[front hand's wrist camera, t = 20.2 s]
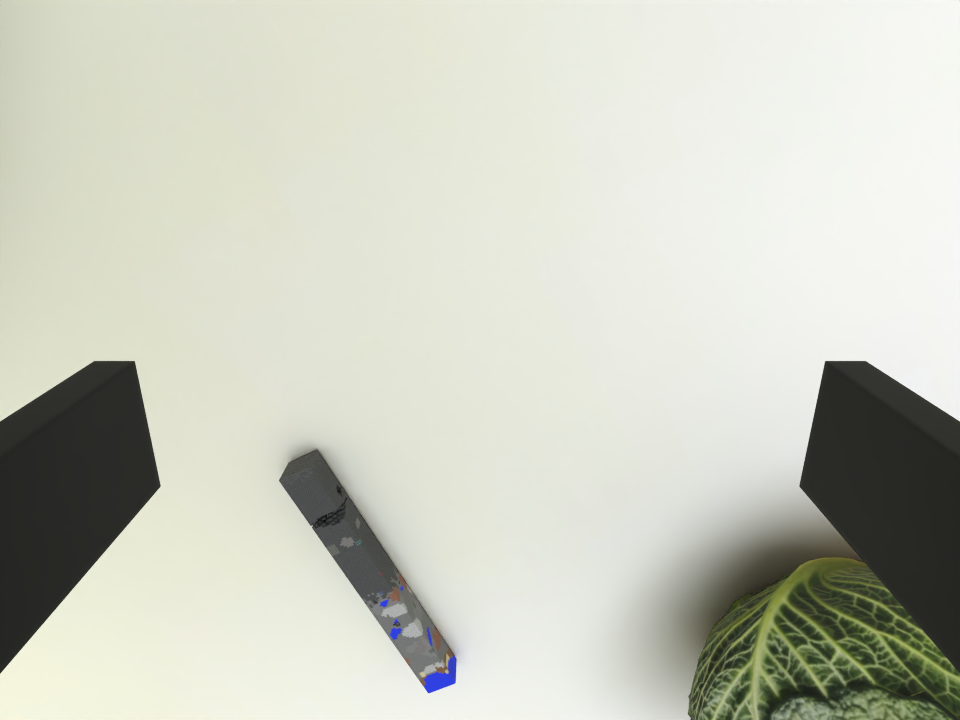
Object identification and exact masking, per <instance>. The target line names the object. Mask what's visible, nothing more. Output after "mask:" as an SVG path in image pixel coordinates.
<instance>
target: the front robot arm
mask: <svg viewBox="0 0 960 720" xmlns="http://www.w3.org/2000/svg"><path fill="white" fill-rule="evenodd" d="M159 488H160V481H159V476H158V471H157V466H156V462H155V457H154V452H153V447H152V442H151V438H150V433H149V428H148V423H147V418H146V413H145V409H144V404H143V399H142V394H141V389H140V384H139V380H138V375H137V370H136V365H135V361H94V362H92V363H91V364H89V365H88V366H86V367H85V368H83V369H81V370H80V371H78V372H77V373H75V374H74V375H72V376H71V377H69V378H67V379H66V380H64V381H63V382H61V383H60V384H58V385H56V386H55V387H53V388H52V389H50V390H49V391H47V392H46V393H44V394H42V395H41V396H39V397H38V398H36V399H35V400H33V401H32V402H30V403H28V404H27V405H25V406H24V407H22V408H21V409H19V410H18V411H16V412H14V413H13V414H11V415H10V416H8V417H7V418H5V419H4V420H2V421H0V673H1V672H2V671H3V670H4V669H5V667H6V666H7V665H8V664H9V663H10V662H11V660H12V659H13V658H14V657H15V656H16V655H17V653H18V652H19V651H20V650H21V649H22V648H23V646H24V645H25V644H26V643H27V642H28V641H29V639H30V638H31V637H32V636H33V635H34V634H35V632H36V631H37V630H38V629H39V628H40V627H41V625H42V624H43V623H44V622H45V621H46V620H47V618H48V617H49V616H50V615H51V614H52V612H53V611H54V610H55V609H56V608H57V607H58V605H59V604H60V603H61V602H62V601H63V600H64V598H65V597H66V596H67V595H68V594H69V593H70V591H71V590H72V589H73V588H74V587H75V586H76V584H77V583H78V582H79V581H80V580H81V579H82V577H83V576H84V575H85V574H86V573H87V572H88V570H89V569H90V568H91V567H92V566H93V565H94V563H95V562H96V561H97V560H98V559H99V558H100V556H101V555H102V554H103V553H104V552H105V551H106V549H107V548H108V547H109V546H110V545H111V544H112V542H113V541H114V540H115V539H116V538H117V537H118V535H119V534H120V533H121V532H122V531H123V530H124V528H125V527H126V526H127V525H128V524H129V523H130V521H131V520H132V519H133V518H134V517H135V516H136V514H137V513H138V512H139V511H140V510H141V509H142V507H143V506H144V505H145V504H146V503H147V502H148V500H149V499H150V498H151V497H152V496H153V495H154V493H155V492H156V491H157V490H158V489H159ZM800 488H801V489H802V490H803V491H804V492H805V493H806V495H807V496H808V497H809V498H810V499H811V500H812V502H813V503H814V504H815V505H816V506H817V507H818V509H819V510H820V511H821V512H822V513H823V514H824V516H825V517H826V518H827V519H828V520H829V521H830V523H831V524H832V525H833V526H834V527H835V528H836V530H837V531H838V532H839V533H840V534H841V535H842V537H843V538H844V539H845V540H846V541H847V542H848V544H849V545H850V546H851V547H852V548H853V549H854V551H855V552H856V553H857V554H858V555H859V556H860V558H861V559H862V560H863V561H864V562H865V563H866V565H867V566H868V567H869V568H870V569H871V570H872V572H873V573H874V574H875V575H876V576H877V577H878V579H879V580H880V581H881V582H882V583H883V584H884V586H885V587H886V588H887V589H888V590H889V591H890V593H891V594H892V595H893V596H894V597H895V598H896V600H897V601H898V602H899V603H900V604H901V605H902V607H903V608H904V609H905V610H906V611H907V613H908V614H909V615H910V616H911V617H912V618H913V620H914V621H915V622H916V623H917V624H918V625H919V627H920V628H921V629H922V630H923V631H924V632H925V634H926V635H927V636H928V637H929V638H930V639H931V641H932V642H933V643H934V644H935V645H936V646H937V648H938V649H939V650H940V651H941V652H942V653H943V655H944V656H945V657H946V658H947V659H948V660H949V662H950V663H951V664H952V665H953V666H954V667H955V669H956V670H957V671H958V672H959V673H960V421H958V420H956V419H955V418H953V417H952V416H950V415H949V414H947V413H946V412H944V411H942V410H941V409H939V408H938V407H936V406H935V405H933V404H932V403H930V402H928V401H927V400H925V399H924V398H922V397H921V396H919V395H918V394H916V393H914V392H913V391H911V390H910V389H908V388H907V387H905V386H904V385H902V384H900V383H899V382H897V381H896V380H894V379H893V378H891V377H889V376H888V375H886V374H885V373H883V372H882V371H880V370H879V369H877V368H875V367H874V366H872V365H871V364H869V363H868V362H866V361H825V365H824V370H823V375H822V380H821V384H820V389H819V394H818V399H817V404H816V409H815V413H814V418H813V423H812V428H811V433H810V438H809V442H808V447H807V452H806V457H805V462H804V466H803V471H802V476H801V481H800Z"/></svg>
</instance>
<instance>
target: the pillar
mask: <svg viewBox="0 0 960 720" xmlns="http://www.w3.org/2000/svg"><path fill="white" fill-rule="evenodd" d="M279 481H280V483H281V484H282V486H283V487H284V488H285V490H286V491H287V493H288V494H289V496H290V497H291V498H292V500H293V501H294V503H295V504H296V505H297V507H298V508H299V510H300V511H301V513H302V514H303V515H304V517H305V518H306V520H307V521H308V523H309V524H310V525H311V526H312V525H313V527H312V528H313V530H314V531H315V533H316V534H317V535H318V537H319V538H320V540H321V541H322V542H323V544H324V545H325V547H326V548H327V550H328V551H329V552H330V554H331V555H332V557H333V558H334V560H335V561H336V562H337V564H338V565H339V567H340V568H341V570H342V571H343V572H344V574H345V575H346V577H347V578H348V580H349V581H350V582H351V584H352V585H353V587H354V588H355V589H356V591H357V592H358V594H359V595H360V597H361V598H362V599H363V601H364V602H365V604H366V605H367V607H368V608H369V609H370V611H371V612H372V614H373V615H374V617H375V618H376V619H377V621H378V622H379V624H380V625H381V627H382V628H383V629H384V631H385V632H386V634H387V635H388V636H389V638H390V639H391V641H392V642H393V644H394V645H395V646H396V648H397V649H398V651H399V652H400V654H401V655H402V656H403V658H404V659H405V661H406V662H407V664H408V665H409V666H410V668H411V669H412V671H413V672H414V673H415V675H416V676H417V678H418V679H419V681H420V682H421V683H422V685H423V686H424V688H425V689H426V691H427V692H428V693H431V692H434V691H436V690H439V689H442V688H444V687H447V686H450V685H452V684H455V682H456V658H455V656H454V655H453V653H452V652H451V650H450V649H449V647H448V646H447V644H446V643H445V641H444V640H443V638H442V636H441V635H440V633H439V632H438V630H437V629H436V627H435V626H434V624H433V623H432V621H431V620H430V618H429V617H428V615H427V614H426V612H425V611H424V609H423V608H422V606H421V605H420V603H419V602H418V600H417V599H416V597H415V596H414V594H413V593H412V591H411V590H410V588H409V587H408V585H407V584H406V582H405V581H404V579H403V578H402V576H401V575H400V573H399V572H398V570H397V569H396V567H395V566H394V564H393V563H392V561H391V560H390V558H389V557H388V555H387V554H386V552H385V551H384V549H383V548H382V546H381V545H380V543H379V542H378V540H377V539H376V537H375V536H374V534H373V533H372V531H371V530H370V528H369V527H368V525H367V524H366V522H365V521H364V519H363V518H362V516H361V515H360V513H359V512H358V510H357V509H356V507H355V506H354V504H353V503H352V501H351V500H350V498H349V496H348V495H347V493H346V492H345V490H344V489H343V487H342V486H341V484H340V483H339V481H338V480H337V478H336V477H335V475H334V474H333V472H332V471H331V469H330V468H329V466H328V465H327V463H326V462H325V460H324V459H323V457H322V456H321V454H320V453H319V451H318V450H316V451H313V452H311V453H309V454H307V455H305V456H302V457H300V458H298V459H296V460H294V461H292V462H289V463H288V465H287V467H286V469H285V471H284V472H283V474H282V476H281V478H280V480H279ZM327 514H328V516H327Z"/></svg>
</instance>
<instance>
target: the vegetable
mask: <svg viewBox="0 0 960 720" xmlns="http://www.w3.org/2000/svg"><path fill="white" fill-rule="evenodd" d="M688 697H689V710H688V715H689V716H690V717H691V720H960V673H959V672H958V671H957V670H956V669H955V667H954V666H953V665H952V664H951V663H950V662H949V660H948V659H947V658H946V657H945V656H944V655H943V653H942V652H941V651H940V650H939V649H938V648H937V646H936V645H935V644H934V643H933V642H932V641H931V639H930V638H929V637H928V636H927V635H926V634H925V632H924V631H923V630H922V629H921V628H920V627H919V625H918V624H917V623H916V622H915V621H914V620H913V618H912V617H911V616H910V615H909V614H908V613H907V611H906V610H905V609H904V608H903V607H902V605H901V604H900V603H899V602H898V601H897V600H896V598H895V597H894V596H893V595H892V594H891V593H890V591H889V590H888V589H887V588H886V587H885V586H884V584H883V583H882V582H881V581H880V580H879V579H878V577H877V576H876V575H875V574H874V573H873V572H872V570H871V569H870V568H869V567H868V566H867V565H866V563H865V562H859V561H857V560H854V559H850V558H845V557H827V558H819V559H814V560H810V561H807V562H805V563H804V564H802V565H800V566H799V567H798V568H797V569H796V570H795V571H794V572H793V573H790V574H788V575H786V576H783V577H781V578H780V579H779V581H777V582H775V583H774V584H772V585H770V586H769V587H768V588H766V589H765V590H763V591H762V592H760V593H758V594H756V595H754V594H746V595H745V596H743V597H742V598H740V599H739V600H737V601H736V602H734V603H733V604H732V606H731V609H730V611H729V612H728V613H727V614H726V615H725V616H724V617H723V618H722V619H721V620H720V621H718V622H717V623H716V624H715V626H714V627H713V629H712V630H711V632H710V634H709V636H708V638H707V641H706V644H705V647H704V649H703V651H702V653H701V655H700V657H699V660H698V665H697V670H696V673H695V676H694V680H693V684H692V689H691V694H690V695H689V696H688Z"/></svg>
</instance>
